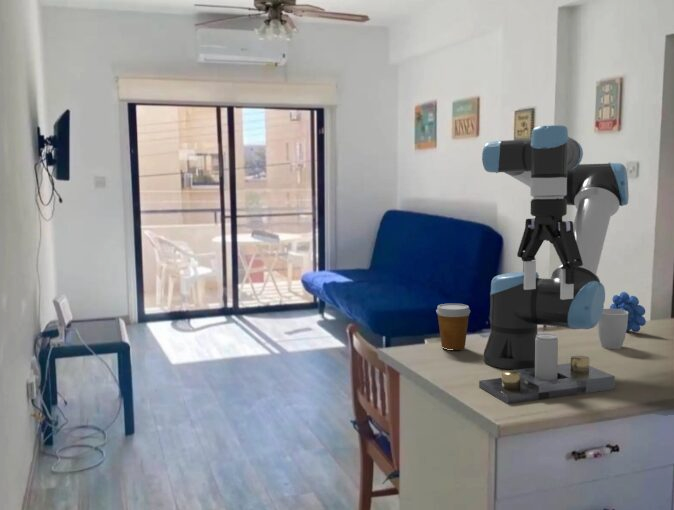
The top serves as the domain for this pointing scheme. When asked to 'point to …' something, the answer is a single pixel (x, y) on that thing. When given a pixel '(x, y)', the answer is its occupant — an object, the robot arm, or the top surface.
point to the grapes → (630, 310)
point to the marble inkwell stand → (549, 382)
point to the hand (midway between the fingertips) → (547, 293)
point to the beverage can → (546, 357)
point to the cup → (612, 328)
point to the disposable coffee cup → (453, 325)
